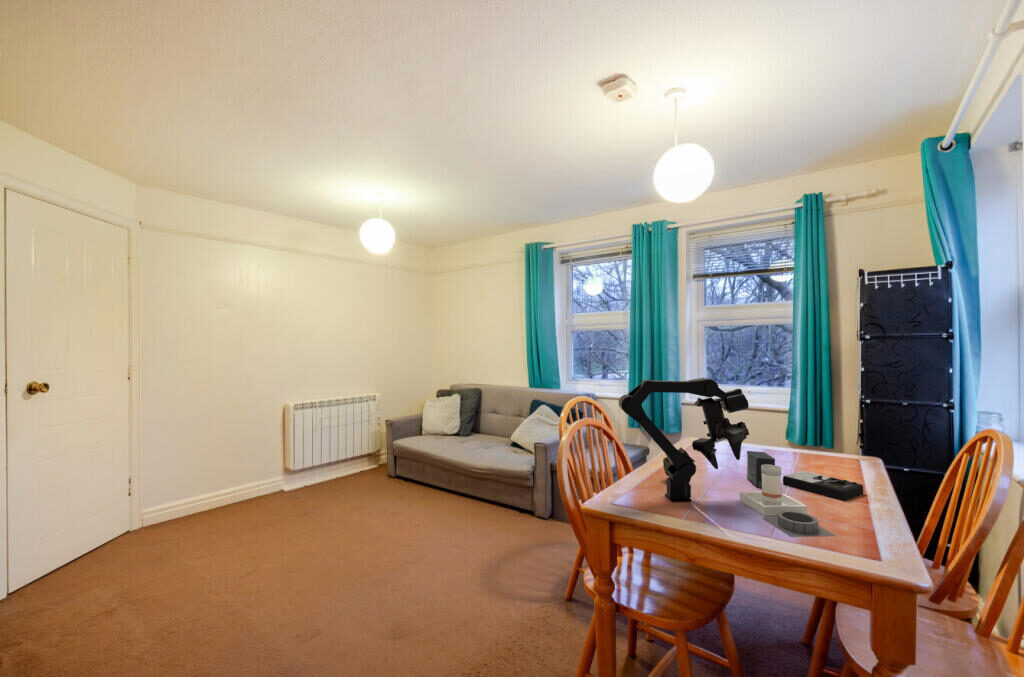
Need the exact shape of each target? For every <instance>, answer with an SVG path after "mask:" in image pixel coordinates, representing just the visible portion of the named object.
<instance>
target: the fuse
mask: <svg viewBox="0 0 1024 677" xmlns="http://www.w3.org/2000/svg"><path fill="white" fill-rule="evenodd" d="M761 473H762V488H761V492H762V504H763V505H765V506H779V505H782V501H781V497H782V467H781V466H779V465H776V464H775V465H761Z"/></svg>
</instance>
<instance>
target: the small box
mask: <svg viewBox="0 0 1024 677" xmlns="http://www.w3.org/2000/svg"><path fill="white" fill-rule="evenodd" d="M746 456H747V458H746V460H747V463H746V464H747V467H746V469H747V470H746V473H747V474H746V479H747V480H748V482H750V483H751V484H752V485H753V486H754V487H755V488H761V489H762V473H761V465H776V458H775V457H773V456H771V454H768V453H767V452H765V451H753V450H746Z"/></svg>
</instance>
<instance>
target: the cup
mask: <svg viewBox="0 0 1024 677" xmlns="http://www.w3.org/2000/svg"><path fill="white" fill-rule="evenodd" d="M662 464H663V470H664V473H665V475H666V476H667V473H666V471H665V469H666V468H667V467H669V466H670V465H671V463H670V461H669V459H668V458H667V456H666V457H663V459H662ZM667 478H670V477H669V476H667Z"/></svg>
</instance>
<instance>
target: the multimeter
mask: <svg viewBox="0 0 1024 677" xmlns="http://www.w3.org/2000/svg"><path fill="white" fill-rule="evenodd" d="M782 485H783V486H786V487H789V488H793V489H797V490H801V491H803V492H807V493H808V492H809V493H812V494H816V495H819V496H822V497H823V496H824V497H826V498H830V499H834V500H837V501H840V502H846V501H850V500H852V499H855V498H857V497H860V495H861V496H863V495H864V485H863V484H861V483H859V482H858V483H857V482H855V481H849V480H847V479H841V478H836V477H833V476H832V477H831V476H828V475H825V474H824V475H823V474H818V473H815V472H810V471H807V470H801V471H797V472H793V473H789V474H785V475H783V476H782Z"/></svg>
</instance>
